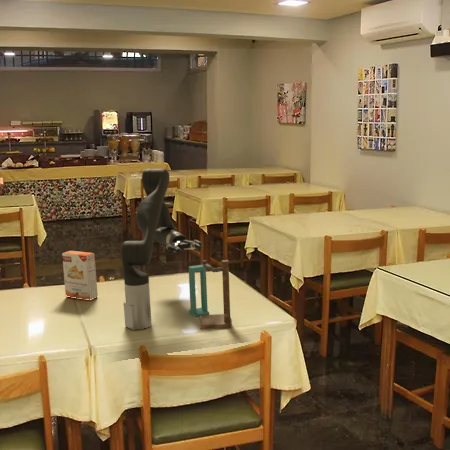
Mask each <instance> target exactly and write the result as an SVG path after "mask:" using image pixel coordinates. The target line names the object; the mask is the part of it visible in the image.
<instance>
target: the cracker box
mask: <svg viewBox="0 0 450 450" xmlns="http://www.w3.org/2000/svg"><path fill="white" fill-rule="evenodd" d="M61 256H62V257H61V258H62V267H63V280H64V289H65V290H64V291H65V292H64V293H65V296H66V295H67V296H70V297H76V298H82V299H89V300H90V299H92V298H95V297H97V296H98V284H97V283H98V281H97V270H96V258H95V257H96V256H95V253H94V252H89V251H88V252H86V251H78V250H77V251H76V250H68V251H65V252H62V254H61ZM98 297H99V296H98Z"/></svg>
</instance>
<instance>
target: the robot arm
mask: <svg viewBox="0 0 450 450" xmlns="http://www.w3.org/2000/svg"><path fill="white" fill-rule="evenodd" d="M141 183H142V187H143V190H144V192H145V194H146V195H145V196H146V197H144V198H143V199H142V200H141V201H140V203H139V204H138V206H137V209H136V213H135V222H136V224H137V227H138V228H139V231H141V233H142V236H143V239H142V240H125V241H124V242H122V244H121V247H120V257H121V265H122V276H123V282H124V295H125V302H123V311H124V313H123V315H124V326H127V327H128V328H127V327H126V328H127V329H129V328H130V330H131V329H132V331H136V330H135V329H140V330H145V329H144V328H146V329H148V327H149V328H150V327H152V311H151V310H152V309H151V294H150V293H151V290H150V277H149V274H148V273H146V272H144V271H142V270H141V269H140V270H138V269H136V268H135V267H134V265H140V266H146V265H149V264H150V262H151V259H152V255H153V248H154V242H155V241H156V242H158V243H159V244H160V245H165V246H166V247H165V249H166V251H168V252H169V253H172V252H173V253H177V254H179V255H180V254H181V252H182V253H183V252H184V251H185V250H191V251H192V250H196V251H198V252H200V251H201V249H202V248H203V247H202V241H200V240H198V239H193V240H189V239H188V237H187V236H185V235H184V234H182V233H181V232H179V231H178V230H177V228H176V226H175V225H174V223H173V221H172V218H171V213H170V209H169V207H168V205H167V204H166V203H165V201H164V198H165V196H166V193H167V191H168V188H169V184H170V172H169V171H168V170H167V169H166V168H145V169H144V170H143V171H142V173H141ZM154 240H155V241H154Z"/></svg>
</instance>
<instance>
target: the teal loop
mask: <svg viewBox="0 0 450 450" xmlns="http://www.w3.org/2000/svg"><path fill="white" fill-rule="evenodd" d="M196 272H199V277H200V280H199V281H200V300H201V301H200V302H201V304H200V305H201V307H198V308H197V294H196V293H197V292H196ZM188 279H189V280H188V283H189V304H190V306H189V307H190V309H188V312H189V314H191V315H192V316H194V317H195V318H198V317H201V315H210V311H208V292H207V291H208V290H207V288H208V286H207V268H205V267H203V266H202V264H197V265H189V266H188Z"/></svg>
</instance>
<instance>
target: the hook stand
mask: <svg viewBox="0 0 450 450" xmlns="http://www.w3.org/2000/svg"><path fill="white" fill-rule="evenodd" d="M207 261H208V260H206V259H205V260H202V264H201V265H202V266H203V267H205V268H206V270H209V272H210V271H211V272H212V273H218V272H219V273H220V272H222V276H221V277H222V300H223V301H222V302H223V303H222V304H223V313H222V314H221V313H218V314H216V313H215V314H209V315H201V316H200V319H199V320H200V323H199V329H200V330H206V329H207V330H208V329H232V320H231V300H230V298H231V297H230V294H231V293H230V275H229V274H230V267H229V259H222V260H221V266H220V267H214V266H212V265H210V264H209V263H208V262H207Z"/></svg>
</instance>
